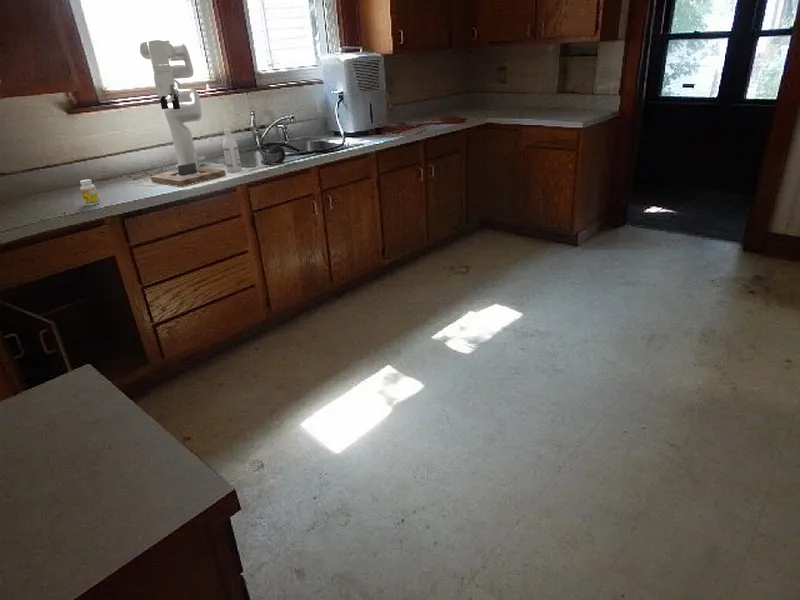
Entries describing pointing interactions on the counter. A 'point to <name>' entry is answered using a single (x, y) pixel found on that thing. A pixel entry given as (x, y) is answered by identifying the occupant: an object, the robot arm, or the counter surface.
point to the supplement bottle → (89, 192)
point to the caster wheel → (274, 155)
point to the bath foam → (231, 152)
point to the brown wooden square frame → (181, 181)
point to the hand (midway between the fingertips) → (171, 109)
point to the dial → (187, 170)
